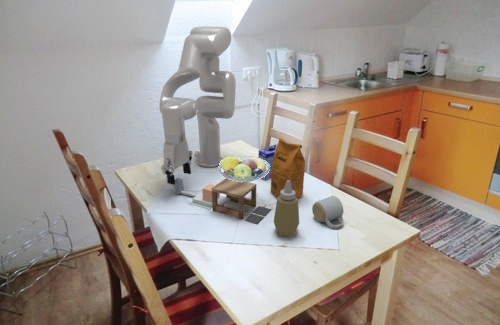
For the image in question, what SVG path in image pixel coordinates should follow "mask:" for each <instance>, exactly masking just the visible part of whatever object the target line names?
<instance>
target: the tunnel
mask: <svg viewBox="0 0 500 325" xmlns="http://www.w3.org/2000/svg"><path fill="white" fill-rule="evenodd" d="M215 185H216V186H214V187H213V188H212V206H213V207H212V212H215V213H218V214H222V215H225V216H229V217H232V218H236V219H239V220H244V218H245V206H247V207H250V208H255V209H256V208H257V183H254V182H251V181H250V182H249V181H246V182H242V183H241V182H236V181H232V180H229V179H227V177H226V178H224V179H222V181H220V182H218V183H217V184H215ZM217 192H218V193H220V194H223V195H225V197H228V198H230V201H229V202H231V201H232V203H234V204H235V203H236V204H238V209H236V208H232V207H229V206H226V205H225V206H222V205H218V200H217ZM249 193H250V195H251V196H250V197H251V198H250V197H246V196H248V194H249Z"/></svg>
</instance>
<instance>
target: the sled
mask: <svg viewBox="0 0 500 325" xmlns="http://www.w3.org/2000/svg"><path fill="white" fill-rule="evenodd" d="M173 188H174V193H175V194H177V195H185V196H189V197H192V201H193V202H196V203H200V204H203V205H207V206H210V207H212V208H213V206H212V202H210V201H206V200H203V194H202V191H201V192H200V193H199V194H196V193H193V192H191V191H190V192H189V191H185V190H184V189H185V188H184V180H183V178H180V177H177V178H175V185H173ZM217 200H218V205H222V206H226V205H227V204H229V203H230V202H231V201H230V198H228V197H226V196H223V195H220V197H219V198H218V199H217Z"/></svg>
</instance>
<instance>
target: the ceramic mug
mask: <svg viewBox="0 0 500 325" xmlns="http://www.w3.org/2000/svg"><path fill="white" fill-rule="evenodd" d="M311 212H312V214H313V216H314V219H315V220H316V221H317V222H320V223H326V225H327V226H328V227H330V228H332V229H340V228H342V227H343V225H344V218H343V214H344V206H343V203H342V201H341V199H340V198H339V197H337V196H335V195H331V196H328V197H325V198H323V199H320V200H317V201H315V202H314V203H313V205H312V209H311ZM338 219H340V224H339V225H337V224H332V223H331V222H330V221H333V220H338Z"/></svg>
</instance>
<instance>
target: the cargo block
mask: <svg viewBox="0 0 500 325" xmlns="http://www.w3.org/2000/svg"><path fill="white" fill-rule="evenodd" d="M216 185H217V184H211V183H208V184H207V185H205V186H204V187H202V189H201V192H202V194H203V200H206V201H210V202H212V188H213V187H214V186H216ZM220 194H221V193H218V192H217V199H218V198H219V197H220V196H221V195H220Z"/></svg>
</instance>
